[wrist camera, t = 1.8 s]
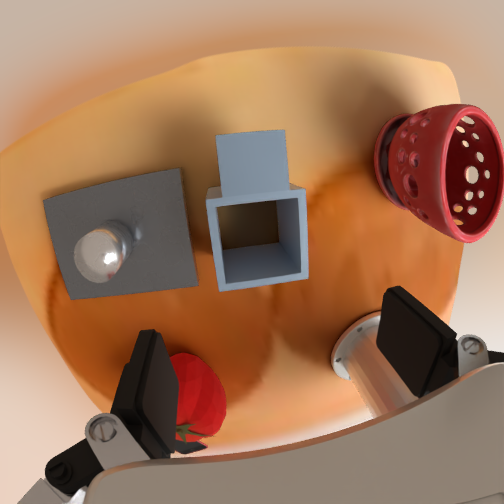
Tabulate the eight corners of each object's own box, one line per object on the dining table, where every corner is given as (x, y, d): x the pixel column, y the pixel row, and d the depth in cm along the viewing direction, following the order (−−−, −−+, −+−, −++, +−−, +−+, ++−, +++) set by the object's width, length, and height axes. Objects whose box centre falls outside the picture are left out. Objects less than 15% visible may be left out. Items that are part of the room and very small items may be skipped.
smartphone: (183, 455, 41) (130, 423, 36) (183, 453, 42) (130, 421, 37) (210, 447, 41) (156, 414, 36) (209, 445, 41) (157, 412, 36)
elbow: (276, 136, 25) (300, 129, 18) (284, 246, 29) (308, 278, 22) (203, 144, 24) (198, 137, 17) (217, 256, 28) (219, 291, 21)
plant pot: (362, 215, 29) (431, 250, 18) (362, 102, 25) (436, 84, 13) (437, 215, 31) (501, 242, 19) (440, 121, 26) (509, 123, 15)
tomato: (226, 340, 32) (232, 403, 23) (223, 403, 36) (228, 458, 27) (137, 335, 31) (118, 395, 21) (150, 399, 35) (142, 453, 25)
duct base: (181, 167, 25) (170, 170, 19) (199, 279, 29) (195, 311, 23) (49, 197, 23) (16, 210, 17) (75, 293, 28) (52, 322, 22)
